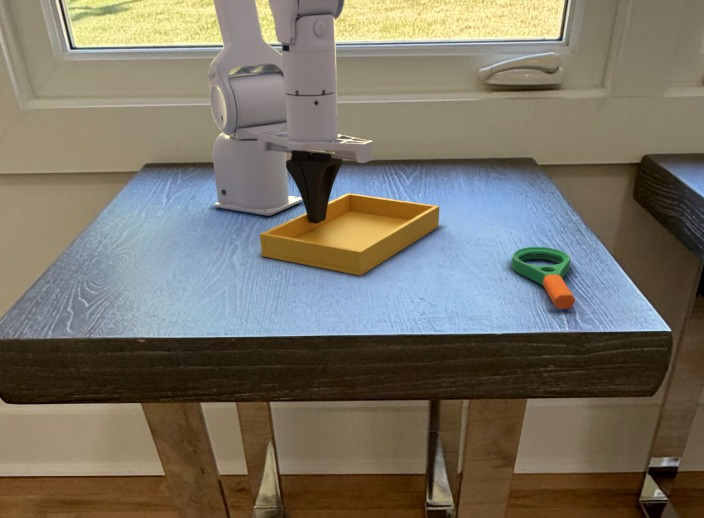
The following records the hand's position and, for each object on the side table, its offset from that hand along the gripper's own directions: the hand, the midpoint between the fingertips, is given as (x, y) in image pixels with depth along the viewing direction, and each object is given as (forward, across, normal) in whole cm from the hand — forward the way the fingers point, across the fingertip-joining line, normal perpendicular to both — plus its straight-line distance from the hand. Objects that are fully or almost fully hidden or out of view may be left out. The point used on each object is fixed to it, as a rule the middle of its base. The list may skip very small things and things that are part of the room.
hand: (317, 221), depth 86 cm
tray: (+2, +5, 0) cm, 5 cm away
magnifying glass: (+2, +30, -2) cm, 30 cm away
